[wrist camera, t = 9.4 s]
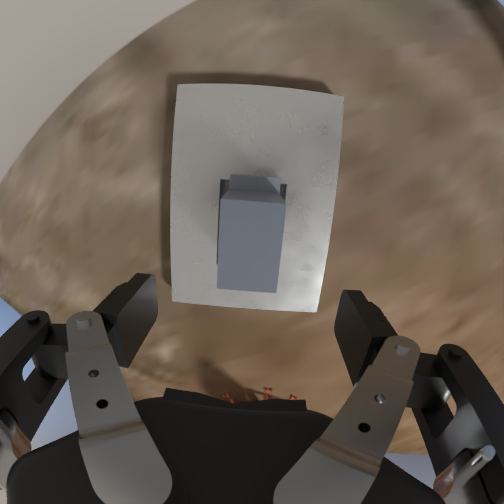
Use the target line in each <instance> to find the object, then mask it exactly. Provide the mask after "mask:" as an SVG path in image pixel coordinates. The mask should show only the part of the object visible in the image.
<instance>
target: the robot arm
mask: <svg viewBox="0 0 504 504" xmlns="http://www.w3.org/2000/svg"><path fill="white" fill-rule="evenodd" d="M157 314H158V303H157V292H156V280H155V276H154V275H152V274H143V273H136V274H135V275H134V276H133V277H132V278H131V279H130V281H129V282H128V283H126V282H125V283H123V284H121V285H119V286H117V287H116V288H115V289H114V290H113V291H112V292H111V294H109V295H108V296H107V297H106V299H104V300H103V301H102V302H101V303H100V304H99V305H98V306H97V307H96V308H95V309H94V310H93V311H82V312H78V313H75V314H73V315H72V316H70V317H69V318H68V320H67V322H66V324H51V321H50V318H49V315H48V313H46V312H45V311H32V312H29V313H26V314H25V315H23V316H22V317H21V318H20V319H19V320H18V321H17V322H16V323H14V325H12V326H11V327H10V328H9V329H8V330H7V331H6V332H5V333H4V334H3V335H2V336H1V337H0V489H2V490H4V491H5V492H6V493H7V504H504V404H503V403H502V401H501V400H500V398H499V397H498V395H497V394H496V392H495V391H494V389H493V388H492V386H491V385H490V383H489V382H488V380H487V379H486V377H485V376H484V375H483V373H482V372H481V370H480V369H479V368H478V366H477V365H476V363H475V362H474V361H473V359H472V358H471V357H470V355H469V354H468V353H467V352H466V351H465V350H464V349H463V348H461V347H459V346H457V345H454V344H444V345H442V346H441V347H440V349H439V351H438V353H437V355H433V354H426V353H421V352H420V347H419V346H418V344H417V343H416V342H414V341H413V340H411V339H409V338H407V337H404V336H398V335H397V333H396V332H395V330H394V329H393V327H392V326H391V324H390V323H389V321H388V320H387V318H386V317H385V316H384V314H383V312H382V311H381V310H380V308H379V307H377V306H376V305H375V304H373V303H372V302H368V300H367V299H366V297H365V296H364V294H363V293H362V292H361V291H360V290H343V292H342V294H341V298H340V303H339V307H338V311H337V315H336V320H335V326H334V332H335V336H336V339H337V342H338V345H339V347H340V350H341V353H342V356H343V358H344V361H345V364H346V367H347V370H348V373H349V375H350V378H351V381H352V384H353V387H355V389H354V390H353V392H352V393H351V395H350V396H349V398H348V399H347V401H346V402H345V404H344V405H343V407H342V408H341V409H340V411H339V412H338V414H337V415H336V417H335V418H334V419H332V418H330V417H328V416H326V415H324V414H321V413H318V412H315V411H311V410H307V408H306V401H305V400H282V399H269V400H262V401H254V402H246V403H230V402H227V401H223V400H220V399H217V398H214V397H210V396H207V395H204V394H201V393H197V392H190V391H183V390H177V389H171V388H166V390H165V393H164V396H163V397H155V398H148V399H143V400H140V401H136V402H133V400H132V398H131V395H130V393H129V391H128V388H127V386H126V383H125V381H124V378H123V376H122V373H121V370H120V368H119V366H121V367H126V368H128V367H129V366H130V364H131V362H132V360H133V359H134V357H135V355H136V353H137V352H138V350H139V348H140V346H141V345H142V343H143V341H144V340H145V338H146V336H147V334H148V333H149V331H150V329H151V328H152V326H153V324H154V323H155V321H156V318H157ZM30 358H32V360H33V362H34V365H35V368H34V370H33V371H32V372H31V374H30V375H29V376H28V378H27V379H26V380H25V382H24V380H23V376H22V371H23V368H24V366H25V364H26V363H27V362H28V361H29V360H30ZM67 379H69V385H70V392H71V397H72V402H73V408H74V412H75V417H76V422H77V426H78V430H77V431H75V432H73V433H71V434H69V435H67V436H65V437H62V438H60V439H58V440H56V441H53V442H51V443H49V444H46V445H44V446H42V447H39V448H37V449H35V450H32V451H31V443H30V442H31V441H32V438H33V436H34V435H35V433H36V431H37V429H38V428H39V426H40V424H41V422H42V421H43V419H44V417H45V415H46V414H47V412H48V410H49V409H50V406H51V405H52V404H53V402H54V400H55V399H56V397H57V395H58V394H59V392H60V390H61V389H62V387H63V385H64V384H65V382H66V381H67ZM451 395H452V397H453V399H454V400H455V402H456V405H457V411H456V415H455V417H454V416H453V414H452V412H451V410H450V408H449V406H448V404H447V400H448V399H449V397H450V396H451ZM405 407H409V408H412V411H413V413H414V416H415V418H416V421H417V423H418V426H419V429H420V431H421V434H422V437H423V439H424V442H425V445H426V448H427V451H428V453H429V456H430V459H431V462H432V465H433V468H434V471H435V474H436V479H435V481H434V484H433V489H431V488H430V487H428V486H427V485H425V484H424V483H422V482H420V481H419V480H417V479H416V478H414V477H413V476H411V475H410V474H408V473H407V472H405V471H404V470H403V469H401V468H400V467H398V466H397V465H395V464H394V463H392V462H391V461H390V460H388V459H387V458H385V457H384V455H385V453H386V451H387V449H388V447H389V445H390V443H391V441H392V438H393V436H394V434H395V431H396V429H397V427H398V424H399V422H400V419H401V417H402V414H403V412H404V409H405Z"/></svg>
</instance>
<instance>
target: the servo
mask: <svg viewBox="0 0 504 504" xmlns="http://www.w3.org/2000/svg"><path fill="white" fill-rule="evenodd" d="M280 183H281V178H276V177H265V176H253V175H239V174H230V186H229V190H228V191H227V192H226V193H225V195H224V196H223V197H222V198H221V201H220V220H219V241H218V267H217V289H227V290H239V291H252V292H266V293H276V292H277V284H278V276H279V267H280V259H281V250H282V241H283V232H284V223H285V214H286V203H285V201H284V199H283V198H282V196H281V195H280Z"/></svg>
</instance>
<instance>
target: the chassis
mask: <svg viewBox="0 0 504 504" xmlns="http://www.w3.org/2000/svg"><path fill="white" fill-rule="evenodd" d="M343 104H344V97H343V96H338V95H333V94H327V93H321V92H315V91H308V90H301V89H293V88H284V87H274V86H262V85H247V84H178V87H177V96H176V106H175V118H174V131H173V146H172V165H171V196H170V250H171V281H172V301H175V302H184V303H193V304H203V305H214V306H225V307H237V308H251V309H265V310H282V311H301V312H317V307H318V302H319V297H320V292H321V286H322V281H323V276H324V270H325V264H326V258H327V252H328V246H329V239H330V233H331V226H332V219H333V211H334V203H335V195H336V187H337V178H338V169H339V158H340V147H341V135H342V121H343ZM230 174H239V175H253V176H265V177H276V178H281V183H280V195H281V196H282V198H283V199H284V201H285V203H286V214H285V223H284V232H283V241H282V250H281V259H280V267H279V276H278V284H277V292H276V293H266V292H252V291H239V290H227V289H217V267H218V241H219V220H220V201H221V198H222V197H223V196H224V195H225V193H226V192H227V191H228V190H229V186H230Z"/></svg>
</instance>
